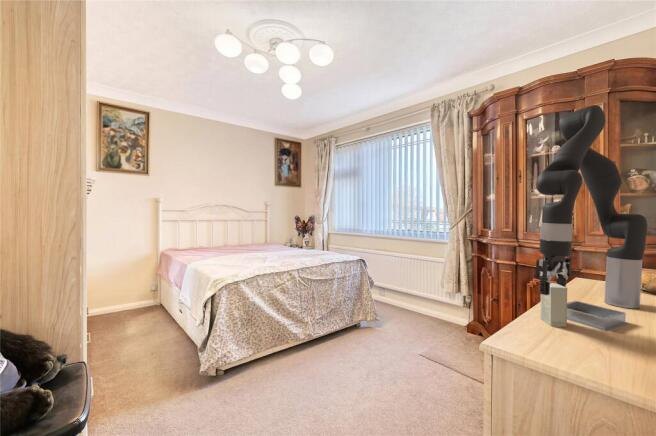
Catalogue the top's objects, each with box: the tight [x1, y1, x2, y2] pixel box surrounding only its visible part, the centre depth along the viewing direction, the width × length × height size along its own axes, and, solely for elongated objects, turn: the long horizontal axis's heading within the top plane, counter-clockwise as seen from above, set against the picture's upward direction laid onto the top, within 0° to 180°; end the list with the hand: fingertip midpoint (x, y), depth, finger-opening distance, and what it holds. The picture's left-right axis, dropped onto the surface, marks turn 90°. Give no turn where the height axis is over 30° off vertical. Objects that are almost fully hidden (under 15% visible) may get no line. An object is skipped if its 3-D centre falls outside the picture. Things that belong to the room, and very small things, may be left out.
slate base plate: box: [567, 310, 630, 332], centre depth 92 cm, size 14×14×1 cm
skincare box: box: [540, 282, 568, 328], centre depth 88 cm, size 6×4×12 cm
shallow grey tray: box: [567, 300, 627, 331], centre depth 92 cm, size 13×13×3 cm
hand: (552, 292), depth 88 cm, fingers open, 8 cm apart
